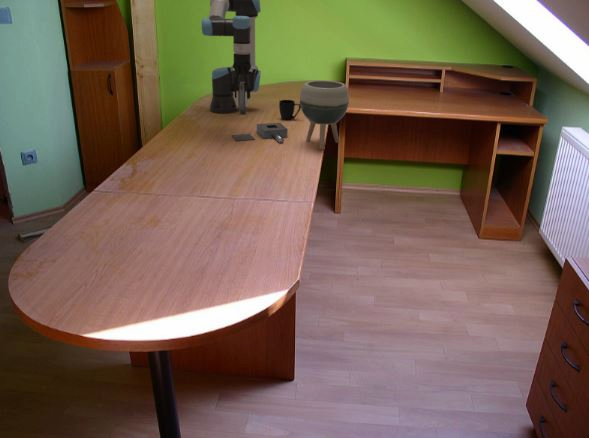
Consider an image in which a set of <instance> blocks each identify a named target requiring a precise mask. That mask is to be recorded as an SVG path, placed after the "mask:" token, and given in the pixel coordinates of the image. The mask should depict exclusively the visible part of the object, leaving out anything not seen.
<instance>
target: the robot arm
mask: <svg viewBox="0 0 589 438" xmlns="http://www.w3.org/2000/svg"><path fill="white" fill-rule="evenodd" d="M209 5H210V10H209V14H208V17H204V18H202V20H201V34H202V35H203V36H207V37H208V36H209V37H233V39H232V40H233V44H232V45H233V64H232V66H225V67H224V66H223V67H218V68H215V69H213V70H212V72H211V83H212V84H211V85H212V97H211V100H210V104H209V111H210V112H212V113H215V114H217V113H218V114H230V113H235V112H237V111H238V107H239V82H245V84H246V92H245V106H246V107H248V106H249V100H250V99H251V93H256V92H257V93H258V91H259V89H260V83H261V82H260V81H261V70H259V66H258V65H256V19H257V18H258V17H259V13H261V11H262V10H261V1H260V0H210V1H209ZM227 12H231V13H232V12H234V13H235V16H233V18H226V14H227Z"/></svg>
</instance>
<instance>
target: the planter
mask: <svg viewBox="0 0 589 438" xmlns="http://www.w3.org/2000/svg"><path fill="white" fill-rule="evenodd" d="M299 104H300V106H301V108H300V110H301V112H302V114H303V116H305V118H306V119H307V120H308V121H309V127H308V132H307V135H306V139H305V140H306V142H310V141H311V138H312V135H313V133H314V130H315V126H316V125H319V145H318V147H319V150H321V151H322V150H324V149H325V140H326V139H325V137H326V127H327V125H330V126H331V127H330V128H331V131H332V135H333V138H334V139H333V140H334V143H340V138H339V134H338V127H337V123H338V122H339V121H341V120H342V118H344V116H345V114H346V113H347V110H348V107H349V105H350V94H349V89H348V87H347V86H346V84H345V83H343V82H340V81H335V80H323V79H322V80H320V79H319V80H310V81H306V82H305V83H304V84H303V86H302V88H301V90H300V94H299Z"/></svg>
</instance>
